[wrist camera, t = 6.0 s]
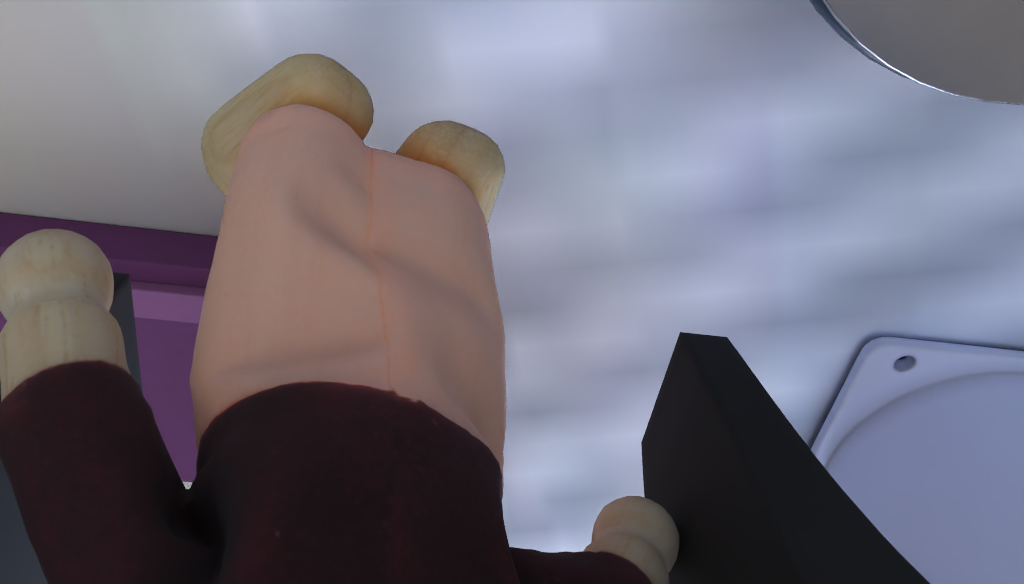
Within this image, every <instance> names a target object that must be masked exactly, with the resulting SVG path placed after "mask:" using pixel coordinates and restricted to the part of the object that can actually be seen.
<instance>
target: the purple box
mask: <svg viewBox="0 0 1024 584" xmlns="http://www.w3.org/2000/svg"><path fill="white" fill-rule="evenodd" d="M42 229H62V230H69V231H73V232H75V233H78V234H80V235H83V236H85V237H87V238H88V239H89V240H91V241H92V242H94V243H95V244H97V245H98V246H99V248H100V249H101V251H102V252H103V253H104V255H105V256H106V258H107V259H108V261H109V263H110V265H111V269H112V272H115V273H125V274H130V281H131V290H132V299H133V309H134V318H135V327H136V336H137V345H138V355H139V364H140V373H141V382H142V391H143V396H144V398H145V399H146V401H147V402H148V404H149V405H150V407H151V408H152V411H153V415H154V419H155V422H156V424H157V426H158V429H159V431H160V434H161V436H162V438H163V441H164V443H165V446H166V448H167V450H168V452H169V455H170V457H171V459H172V461H173V463H174V465H175V467H176V470H177V472H178V474H179V476H180V478H181V480H182V481H184V482H193V481H194V479H195V477H196V461H197V455H198V450H197V446H196V442H195V422H194V410H193V399H192V393H191V388H190V373H191V367H192V362H193V355H194V347H195V341H196V336H197V331H198V326H199V321H200V316H201V311H202V305H203V300H204V294H205V290H206V285H207V281H208V277H209V274H210V270H211V266H212V262H213V258H214V253H215V248H216V244H217V240H218V237H214V236H205V235H196V234H187V233H178V232H169V231H160V230H151V229H142V228H133V227H124V226H115V225H106V224H97V223H88V222H79V221H70V220H61V219H52V218H43V217H34V216H24V215H15V214H6V213H0V257H1V256H2V254H3V253H4V252H5V251H6V249H7V248H8V247H10V246H11V245H12V244H13V243H14V242H16V241H17V240H18V239H20V238H21V237H23V236H25V235H26V234H28V233H32V232H35V231H39V230H42ZM6 323H7V320H6V319H5V317H4V316H3V314H2V313H1V311H0V332H1V331H2V329H3V327H4V326H5V324H6Z"/></svg>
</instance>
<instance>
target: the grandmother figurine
mask: <svg viewBox="0 0 1024 584" xmlns="http://www.w3.org/2000/svg"><path fill="white" fill-rule="evenodd" d="M373 113H374V110H373V104H372V99H371V97H370V95H369V93H368V90H367V88H366V87H365V86H364V85H363V83H362V82H361V81H360V80H359V79H358V78H357V77H356V76H354V75H353V74H352V73H351V72H350V71H348V70H347V69H346V68H345V67H343V66H342V65H340V64H339V63H337V62H336V61H335V60H333V59H331V58H328V57H326V56H323V55H320V54H300V55H295V56H292V57H290V58H287V59H286V60H284V61H282V62H281V63H279V64H278V65H276V66H275V67H273V68H272V69H271V70H269V71H268V72H267V73H265V74H264V75H263V76H261V77H260V78H258V79H257V80H256V81H254V82H253V83H252V84H250V85H249V86H248V87H246V88H245V89H244V90H242V91H241V92H240V93H238V94H237V95H236V96H234V97H233V98H232V99H230V100H229V101H228V102H227V103H225V104H224V105H223V106H222V107H220V108H219V109H218V110H217V112H215V113H214V114H213V115H212V116H211V117H210V119H209V120H208V122H207V124H206V126H205V127H204V130H203V135H202V142H201V150H202V155H203V160H204V163H205V166H206V169H207V172H208V174H209V176H210V177H211V179H212V180H213V182H214V183H215V184H216V186H217V187H218V188H219V189H220V191H221V192H222V193H223V194H224V195H225V196H226V200H225V204H224V210H223V217H222V223H221V227H220V231H219V236H218V240H217V244H216V248H215V253H214V258H213V262H212V266H211V270H210V274H209V277H208V281H207V285H206V290H205V294H204V300H203V305H202V311H201V316H200V321H199V326H198V331H197V336H196V341H195V347H194V355H193V362H192V367H191V373H190V388H191V393H192V399H193V410H194V422H195V442H196V446H197V450H198V455H197V461H196V477H195V479H194V481H193V483H192V485H191V488H190V489H185V486H184V484H183V482H182V480H181V478H180V476H179V474H178V472H177V470H176V467H175V465H174V463H173V461H172V459H171V457H170V455H169V452H168V450H167V448H166V446H165V443H164V441H163V438H162V436H161V434H160V431H159V429H158V426H157V424H156V422H155V419H154V415H153V411H152V408H151V407H150V405H149V404H148V402H147V401H146V399H145V398H144V396H143V394H142V391H141V388H140V385H139V384H138V383H137V382H136V381H135V380H134V378H133V377H132V376H131V375H130V372H129V368H128V365H127V362H126V354H125V347H124V340H123V335H122V331H121V328H120V326H119V324H118V322H117V320H116V319H115V318H114V317H113V316H112V315H111V314H110V312H109V310H110V307H111V305H112V302H113V291H114V279H113V272H112V269H111V265H110V263H109V261H108V259H107V258H106V256H105V255H104V253H103V252H102V251H101V249H100V248H99V246H98V245H97V244H95V243H94V242H92V241H91V240H89V239H88V238H87V237H85V236H83V235H80V234H78V233H75V232H73V231H69V230H62V229H42V230H39V231H35V232H32V233H28V234H26V235H25V236H23V237H21V238H20V239H18V240H17V241H16V242H14V243H13V244H12V245H11V246H10V247H8V248H7V249H6V251H5V252H4V253H3V254H2V256H1V257H0V311H1V313H2V314H3V316H4V317H5V319H6V320H7V323H6V324H5V326H4V327H3V329H2V331H1V332H0V381H1V403H0V458H1V461H2V463H3V466H4V468H5V470H6V473H7V475H8V478H9V480H10V483H11V486H12V489H13V492H14V495H15V498H16V501H17V504H18V507H19V510H20V513H21V516H22V519H23V522H24V526H25V529H26V532H27V535H28V538H29V540H30V542H31V544H32V546H33V549H34V551H35V553H36V555H37V558H38V560H39V563H40V566H41V568H42V571H43V574H44V576H45V578H46V580H47V582H48V584H669V582H670V581H669V572H670V571H671V569H672V567H673V565H674V563H675V561H676V560H677V556H678V551H679V532H678V530H677V527H676V525H675V523H674V521H673V519H672V517H671V516H670V515H669V513H668V512H667V511H666V510H665V509H664V508H663V507H662V506H661V505H659V504H657V503H656V502H654V501H652V500H650V499H647V498H644V497H641V496H626V497H623V498H619V499H616V500H614V501H613V502H611V503H609V504H608V505H606V506H605V507H604V508H603V509H602V511H601V512H600V514H599V516H598V517H597V519H596V522H595V524H594V528H593V533H592V542H591V544H590V545H588V546H587V547H586V548H585V550H584V551H583V552H558V553H547V552H540V551H536V550H532V549H520V548H513V547H509V544H508V539H507V535H506V531H505V526H504V520H503V510H502V502H501V501H502V497H503V485H504V484H503V462H504V459H503V448H504V439H505V427H506V381H505V335H504V327H503V319H502V314H501V309H500V304H499V299H498V294H497V289H496V284H495V278H494V271H493V264H492V257H491V247H490V240H489V234H488V229H487V224H488V221H489V218H490V215H491V212H492V209H493V206H494V203H495V200H496V198H497V195H498V192H499V190H500V187H501V185H502V182H503V178H504V172H505V164H504V158H503V155H502V153H501V151H500V149H499V147H498V145H497V144H496V143H495V142H494V141H493V140H492V139H491V138H489V137H488V136H487V135H485V134H484V133H482V132H480V131H478V130H476V129H473V128H471V127H468V126H466V125H463V124H460V123H457V122H453V121H436V122H432V123H428V124H426V125H423V126H421V127H419V128H418V129H416V130H415V131H414V132H413V133H412V134H411V135H410V136H409V137H408V138H407V139H406V140H405V142H404V143H403V144H402V146H401V147H400V148H399V150H398V151H397V152H396V154H394V153H391V152H388V151H383V150H377V149H372V148H369V147H367V146H366V145H365V144H364V143H363V139H364V138H365V137H366V135H367V133H368V131H369V129H370V127H371V125H372V123H373Z"/></svg>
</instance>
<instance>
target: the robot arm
mask: <svg viewBox="0 0 1024 584" xmlns="http://www.w3.org/2000/svg"><path fill="white" fill-rule="evenodd" d="M113 279H114V291H113V302H112V305H111V307H110V310H109V312H110V314H111V315H112V316H113V317H114V318H115V319H116V320H117V322H118V324H119V326H120V328H121V331H122V335H123V340H124V347H125V354H126V362H127V365H128V368H129V372H130V375H131V376H132V377H133V378H134V380H135V381H136V382H137V383H138V384H139V385H140V388H141V391H142V382H141V373H140V364H139V355H138V345H137V336H136V327H135V318H134V309H133V299H132V290H131V281H130V274H125V273H115V272H113ZM903 356H907V357H906V358H904V359H902V360H897V359H899V358H901V357H903ZM896 360H897V361H896ZM142 394H143V391H142ZM0 403H1V381H0ZM641 444H642V462H643V480H644V494H645V498H647V499H650V500H652V501H654V502H656V503H657V504H659V505H661V506H662V507H663V508H664V509H665V510H666V511H667V512H668V513H669V515H670V516H671V517H672V519H673V521H674V523H675V525H676V527H677V530H678V532H679V551H678V556H677V560H676V561H675V563H674V565H673V567H672V569H671V571H670V572H669V581H670V582H669V584H1024V351H1017V350H1007V349H998V348H989V347H980V346H970V345H961V344H952V343H942V342H933V341H924V340H915V339H905V338H896V337H879V338H876V339H873V340H871V341H870V342H868V343H867V344H866V345H865V346H864V347H863V348H862V350H861V351H860V353H859V355H858V357H857V359H856V361H855V363H854V365H853V367H852V369H851V371H850V373H849V375H848V377H847V379H846V381H845V383H844V385H843V387H842V389H841V391H840V393H839V395H838V397H837V399H836V400H835V402H834V404H833V406H832V408H831V410H830V412H829V414H828V416H827V418H826V420H825V422H824V424H823V426H822V428H821V430H820V432H819V434H818V436H817V438H816V440H815V442H814V444H813V446H812V448H811V450H810V448H809V447H808V446H807V445H806V443H805V442H804V441H803V440H802V438H801V437H800V436H799V434H798V433H797V432H796V430H795V429H794V428H793V426H792V425H791V424H790V423H789V421H788V420H787V419H786V417H785V416H784V414H783V413H782V412H781V410H780V409H779V408H778V406H777V405H776V404H775V402H774V401H773V400H772V398H771V397H770V395H769V394H768V393H767V391H766V390H765V389H764V387H763V386H762V384H761V383H760V382H759V380H758V379H757V378H756V376H755V375H754V373H753V372H752V371H751V369H750V368H749V367H748V365H747V364H746V362H745V361H744V360H743V358H742V357H741V355H740V354H739V353H738V351H737V350H736V349H735V347H734V346H733V345H732V343H731V342H730V341H729V339H728V338H727V337H720V336H711V335H701V334H692V333H682V332H680V334H679V337H678V340H677V343H676V346H675V349H674V351H673V354H672V357H671V360H670V363H669V366H668V369H667V371H666V374H665V377H664V380H663V383H662V386H661V389H660V391H659V394H658V397H657V400H656V403H655V406H654V409H653V411H652V414H651V417H650V420H649V423H648V426H647V429H646V431H645V434H644V437H643V440H642V443H641ZM0 584H48V582H47V580H46V578H45V576H44V574H43V571H42V568H41V566H40V563H39V560H38V558H37V555H36V553H35V551H34V549H33V546H32V544H31V542H30V540H29V538H28V535H27V532H26V529H25V526H24V522H23V519H22V516H21V513H20V510H19V507H18V504H17V501H16V498H15V495H14V492H13V489H12V486H11V483H10V480H9V478H8V475H7V473H6V470H5V468H4V466H3V463H2V461H1V458H0Z"/></svg>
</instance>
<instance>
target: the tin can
mask: <svg viewBox="0 0 1024 584" xmlns="http://www.w3.org/2000/svg"><path fill="white" fill-rule="evenodd" d="M810 2H811V3H812V5H813V6H814V8H815V9H816V11H817V12H818V13H819V14H820V15H821V16H822V17H823V18H824V19H825V20H826V22H827V23H828V24H829V25H830V26H831V27H832V28H833V29H834V30H835V31H836V32H837V33H838V34H839V35H840V37H841V38H843V39H844V40H845V41H847V42H848V43H849V44H851V45H852V46H853V47H854V48H856V49H857V50H858V51H860V52H861V53H862V54H863V55H865V56H866V57H867V58H869V59H870V60H872V61H874V62H876V63H878V64H879V65H881V66H883V67H885V68H887V69H889V70H890V71H892V72H894V73H896V74H898V75H900V76H902V77H905V78H908V79H910V80H913V81H915V82H917V83H919V84H922V85H925V86H928V87H930V88H933V89H936V90H939V91H941V92H944V93H947V94H950V95H954V96H959V97H964V98H969V99H974V100H978V101H983V102H990V103H1003V104H1017V105H1024V0H810Z"/></svg>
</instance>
